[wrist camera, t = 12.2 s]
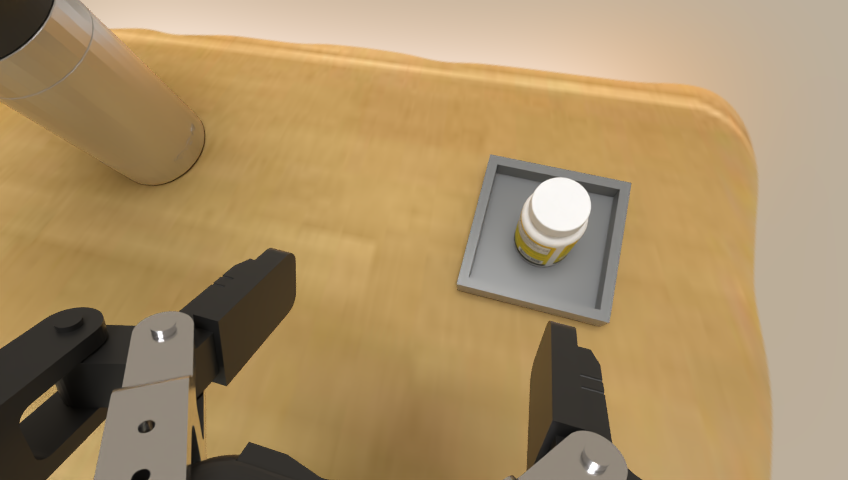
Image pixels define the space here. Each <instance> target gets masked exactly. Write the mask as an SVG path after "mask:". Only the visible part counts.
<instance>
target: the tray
mask: <svg viewBox="0 0 848 480" xmlns="http://www.w3.org/2000/svg"><path fill="white" fill-rule="evenodd" d="M558 177H562V178H568V179H571V180H574V181H576V182H577V183H579V184H580V185H581V186H583V187H584V189H585V190H586V191H587V193H588V195H589V197H590V201H591V211H590V215H589V217H588V224H587V228H586V230H585V232H584V234H583V235H582V237H581V238H580V239H579V240H578V242H577V243H576V244H575V245H574V247H573V248H572V249H571V251H570V252H569V253H568V254H567V256H566V257H565V258H564V259H563V260H562V261H560V262H559V263H557V264H555V265H552V266H547V267H540V266H535V265H532V264H530V263H528V262H527V261H525V260H524V259H523V258H522V257H521V256H520V255H519V253H518V252H517V250H516V247H515V243H514V235H515V231H516V227H517V224H518V221H519V218H520V214H521V211H522V208H523V206H524V204H525V202H526V200H527V199H528V198H529V197H530V196H531V195H532V194H533V193H534V191H535V190H536V188H537V187H538V186H539V185H540V184H541V183H543V182H544V181H546V180H549V179H552V178H558ZM630 189H631V183H629V182H624V181H619V180H614V179H609V178H604V177H599V176H595V175H590V174H585V173H580V172H575V171H570V170H565V169H560V168H555V167H550V166H545V165H540V164H535V163H530V162H525V161H520V160H515V159H510V158H505V157H500V156H495V155H490V158H489V162H488V166H487V170H486V173H485V177H484V181H483V185H482V189H481V193H480V196H479V200H478V204H477V208H476V212H475V216H474V220H473V223H472V227H471V231H470V235H469V239H468V243H467V246H466V250H465V254H464V258H463V262H462V266H461V270H460V273H459V277H458V281H457V290H459V291H463V292H467V293H471V294H475V295H479V296H483V297H487V298H491V299H495V300H498V301H502V302H506V303H510V304H514V305H518V306H522V307H526V308H530V309H534V310H537V311H541V312H545V313H549V314H553V315H557V316H561V317H565V318H569V319H573V320H576V321H580V322H584V323H588V324H592V325H596V326H602V325H605V324H607V323H609V321H610V315H611V309H612V302H613V296H614V290H615V283H616V277H617V271H618V264H619V258H620V252H621V245H622V239H623V233H624V226H625V220H626V214H627V208H628V201H629V195H630Z"/></svg>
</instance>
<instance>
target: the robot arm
mask: <svg viewBox="0 0 848 480" xmlns="http://www.w3.org/2000/svg"><path fill="white" fill-rule="evenodd" d="M0 102H2V103H4V104H5V105H7V106H9V107H10V108H12V109H14V110H15V111H17V112H19V113H20V114H22V115H24V116H25V117H27V118H29V119H31V120H32V121H34V122H36V123H37V124H39V125H41V126H42V127H44V128H46V129H47V130H49V131H51V132H52V133H54V134H56V135H57V136H59V137H61V138H62V139H64V140H66V141H67V142H69V143H71V144H72V145H74V146H76V147H78V148H79V149H81V150H83V151H84V152H86V153H88V154H89V155H91V156H93V157H94V158H96V159H98V160H99V161H101V162H102V163H104V164H106V165H107V166H109V167H111V168H112V169H114V170H116V171H117V172H119V173H121V174H123V175H124V176H126V177H128V178H129V179H131V180H133V181H135V182H137V183H140V184H144V185H158V184H164V183H166V182H169V181H172V180H174V179H176V178H177V177H179V176H181V175H182V174H184V173H185V172H186V171H187V170H188V169H190V167H191V166H192V165H193V164H194V163H195V161H196V160H197V158H198V157H199V155H200V153H201V150H202V147H203V145H204V137H205V136H204V128H203V125H202V123H201V120H200V119H199V118H198V116H197V115H196V114H195V113H194V112H193V111H192V110H191V109H190V108H189V107H188V106H187V105H186V104H185V103H184V102H183V101H182V100H181V99H180V98H179V97H178V96H177V95H176V94H175V93H174V92H173V91H172V90H171V89H170V88H169V87H168V86H167V85H166V84H165V83H164V82H163V81H162V80H160V79H159V78H158V77H157V76H156V75H155V74H154V73H153V72H152V71H151V70H150V69H149V68H148V67H147V66H146V65H145V64H144V63H143V62H142V61H141V60H140V59H139V58H138V57H137V56H136V55H135V54H134V53H133V52H132V51H131V50H130V49H129V48H128V47H127V46H126V45H125V44H124V43H123V42H122V41H121V40H120V39H119V38H118V37H117V36H116V35H115V34H114V33H112V32H111V31H110V30H109V29H108V28H107V27H106V26H105V25H104V24H103V23H102V22H101V21H100V20H99V19H98V18H97V17H96V16H95V15H94V14H93V13H92V12H91V11H90V10H89V9H88V8H87V7H86V6H85V5H84V4H83V3H82V2H81V1H80V0H0ZM295 297H296V260H295V256H294V254H292V253H289V252H285V251H281V250H277V249H273V248H269V249H267V250H266V251H265V252H264V253H262V254H261V255H260V256H259V257H258V258H257V259H256V260H253V259H249V260H246V261H244V262H242V263H239V264H237V265H235V266H233V267H232V268H231V269H230V270H228V271H227V272H226V273H225V274H224V275H223V277H220V278H219V279H218V280H216V281H215V282H214V284H213V285H210V286H209V287H208V288H207V289H206V290H204V291H203V292H202V293H201V294H200V295H198V296H197V297H196V298H195V299H194V300H192V301H191V302H190V303H189V304H188V305H186V306H185V307H184V308H183V309H182V310H180V311H179V312H175V311H169V312H162V313H158V314H154V315H152V316H149V317H147V318H145V319H144V320H142V321H141V322H139V323H138V324H137V325H136V326H123V325H106V324H105V321H104V317H103V315H102V313H101V312H100V311H98V310H96V309H93V308H86V307H81V308H72V309H67V310H64V311H60V312H58V313H55V314H53V315H51V316H49V317H47V318H46V319H44V320H43V321H41V322H40V323H38V324H37V325H35V326H34V327H32V328H31V329H29V330H28V331H26V332H25V333H23V334H22V335H20V336H19V337H18V338H16V339H15V340H13V341H12V342H10V343H9V344H7V345H6V346H4V347H3V348H1V349H0V480H46V479H47V478H48V477H49V476H50V475H51V474H52V473H53V472H54V471H55V470H56V469H57V468H58V467H59V466H60V465H61V464H62V463H63V462H64V461H65V460H66V459H67V458H68V457H69V456H70V455H71V454H72V453H73V452H74V451H75V450H76V449H77V448H78V447H79V446H80V445H81V444H82V443H83V442H84V441H85V440H86V439H87V437H88V436H89V435H90V434H91V433H92V432H93V431H94V430H95V429H96V428H97V427H98V426H99V425H100V424H101V423H102V422H103V421H104V420H105V419H106V422H105V427H104V432H103V437H102V442H101V447H100V452H99V457H98V462H97V466H96V471H95V476H94V480H327V479H323V478H321V477H319V476H318V475H316V474H315V473H313V472H312V471H310V470H309V469H307V468H306V467H305V466H303V465H302V464H300V463H299V462H297V461H296V460H294V459H293V458H291V457H290V456H289V455H287V454H284V453H281V452H278V451H275V450H272V449H269V448H266V447H263V446H260V445H257V444H254V443H251V442H249V443H248V444H247V445H246V447H245V448H244V450H243V451H242V453H241V454H240V455H224V456H218V457H213V458H210V459H207V455H206V395H205V389H206V387H207V386H208V385H209V384H210V383H211V382H215V383H218V384H221V385H224V386H227V385H228V384H229V383H230V382H231V380H232V379H233V378H234V377H235V376H236V375H237V373H238V372H239V371H240V370H241V369H242V367H243V366H244V365H245V364H246V363H247V361H248V360H249V359H250V358H251V357H252V355H253V354H254V353H255V352H256V351H257V350H258V348H259V347H260V346H261V345H262V344H263V342H264V341H265V340H266V339H267V338H268V336H269V335H270V334H271V333H272V332H273V331H274V329H275V328H276V327H277V326H278V325H279V323H280V322H281V321H282V320H283V319H284V317H285V316H286V315H287V314H288V313H289V311H290V310H291V308H292V306H293V304H294V301H295ZM54 384H55V385H56V387H57V390H58V391H57V392H56V393H55V394H54V395H52V396H51V397H50V398H49V399H48V400H47V401H45V402H44V403H43V404H42V405H41V406H39V407H38V408H37V409H36V410H35V411H34V412H32V413H31V414H30V415H29V416H28V417H27V418H25V419H24V420H23V421H22V422H21V423H19V422H20V418H21V416H22V414H23V412H24V411H25V409H26V408H27V407H28V406H29V405H30V404H31V403H33V402H34V401H35V400H36V399H37V398H39V397H40V396H41V395H42V394H43V393H45V392H46V391H47V390H48V389H49V388H51V387H52V386H53V385H54ZM503 480H642V479H640V478H639V477H637V476H636V475H635V474H633V473H632V472H631V471H630V470H629V469H628V468H627V464H626V461H625V459H624V457H623V456H622V454H621V452H620V451H619V450H618V449H617V448H616V446H614V445H613V444H612V440H611V433H610V427H609V420H608V414H607V407H606V400H605V395H604V387H603V383H602V374H601V367H600V364H599V362H598V361H597V359H596V358H595V356H594V354H593V353H592V351H591V350H589V349H586V348H582V347H578V345H577V334H576V328H575V327H571V326H567V325H564V324H560V323H556V322H552V321H549V322H548V324H547V326H546V328H545V331H544V334H543V337H542V340H541V342H540V345H539V348H538V351H537V354H536V356H535V359H534V363H533V367H532V372H531V379H530V402H529V426H528V451H527V471H526V472H525V473H524V474H523V475H522V476H520V477H519V478H517V479H516V478H515V477H514V476H512V475H511V476H508V477H506V478H505V479H503Z"/></svg>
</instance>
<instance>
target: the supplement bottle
mask: <svg viewBox="0 0 848 480" xmlns="http://www.w3.org/2000/svg"><path fill="white" fill-rule="evenodd" d="M590 211H591V201H590V197H589V195H588V193H587V191H586V190H585V189H584V187H583V186H581V185H580V184H579V183H577V182H576V181H574V180H571V179H568V178H562V177H558V178H552V179H549V180H546V181H544V182H543V183H541V184H540V185H539V186H538V187H537V188H536V190H535V191H534V193H533V194H532V195H531V196H530V197H529V198H528V199H527V200H526V202H525V204H524V206H523V208H522V211H521V214H520V218H519V221H518V224H517V227H516V231H515V235H514V243H515V247H516V250H517V252H518V253H519V255H520V256H521V257H522V258H523V259H524V260H525V261H527V262H528V263H530V264H532V265H535V266H540V267H547V266H552V265H555V264H557V263H559V262H560V261H562V260H563V259H564V258H565V257H566V256H567V254H568V253H569V252H570V251H571V249H572V248H573V247H574V245H575V244H576V243H577V242H578V240H579V239H580V238H581V237H582V235H583V234H584V232H585V230H586V228H587V224H588V217H589V215H590Z"/></svg>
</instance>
